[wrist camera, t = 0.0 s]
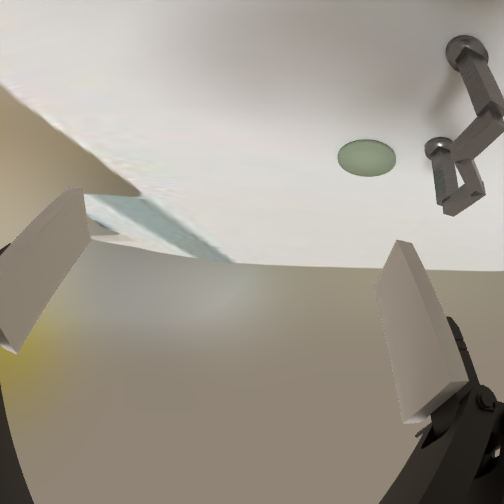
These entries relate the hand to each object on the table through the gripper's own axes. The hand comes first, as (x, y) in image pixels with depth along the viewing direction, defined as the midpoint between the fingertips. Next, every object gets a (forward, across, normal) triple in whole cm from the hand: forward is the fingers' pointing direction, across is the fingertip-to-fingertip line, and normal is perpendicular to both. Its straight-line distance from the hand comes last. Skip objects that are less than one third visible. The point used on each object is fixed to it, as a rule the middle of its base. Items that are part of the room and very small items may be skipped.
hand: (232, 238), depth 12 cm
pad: (+20, +11, -2) cm, 23 cm away
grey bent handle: (+14, +15, +7) cm, 22 cm away
